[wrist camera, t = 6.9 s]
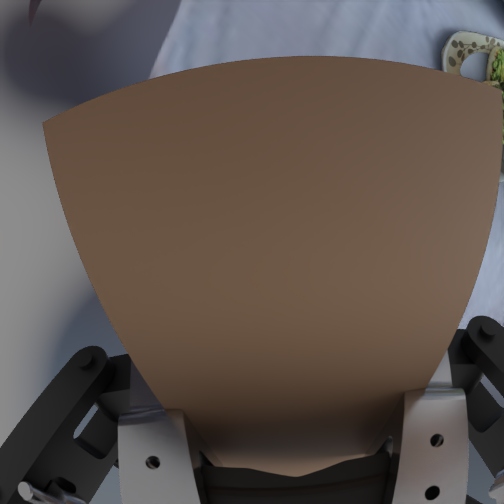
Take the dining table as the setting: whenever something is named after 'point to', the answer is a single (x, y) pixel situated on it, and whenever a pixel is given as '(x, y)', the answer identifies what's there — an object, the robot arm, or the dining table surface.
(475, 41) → the salad plate
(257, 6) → the dining table surface
